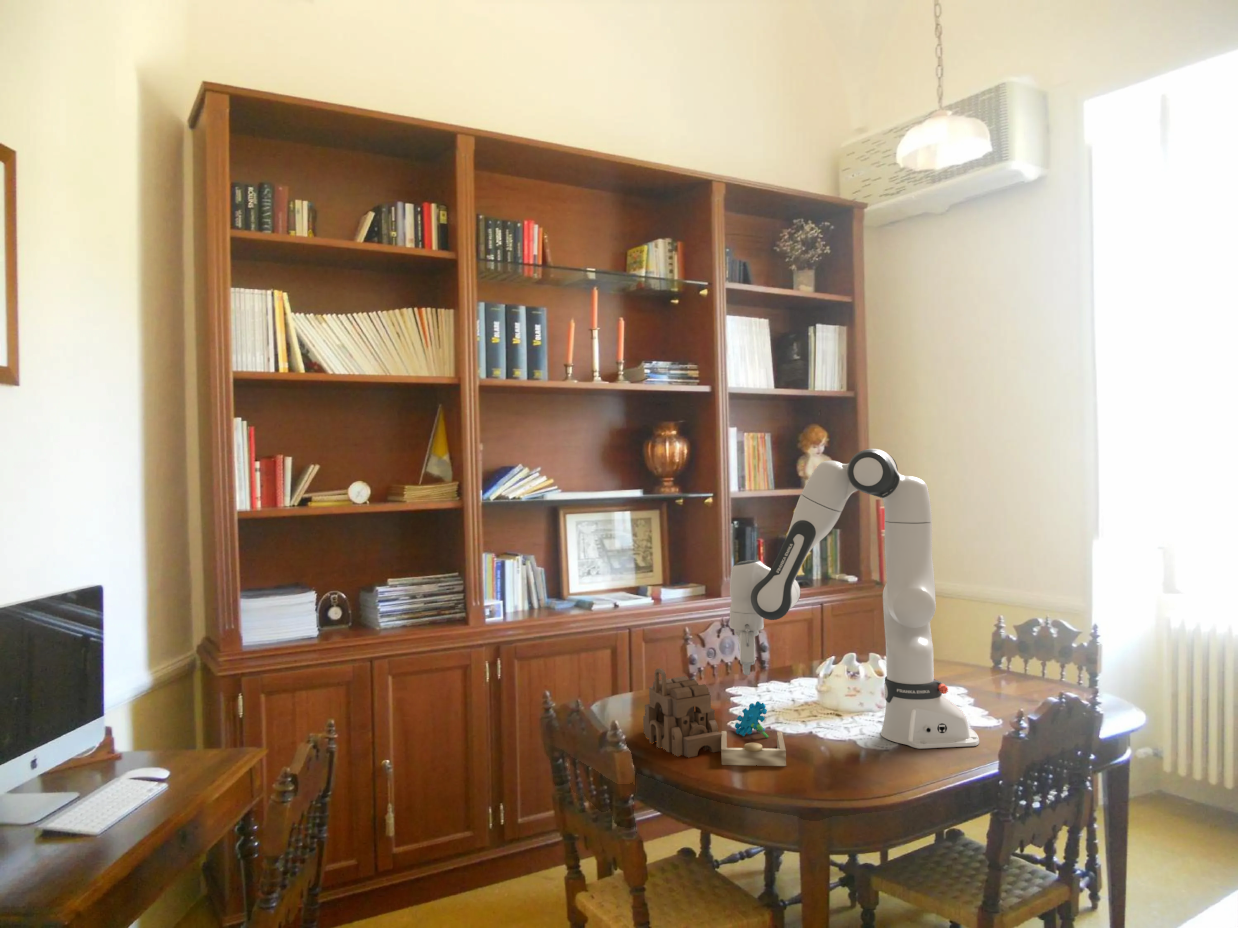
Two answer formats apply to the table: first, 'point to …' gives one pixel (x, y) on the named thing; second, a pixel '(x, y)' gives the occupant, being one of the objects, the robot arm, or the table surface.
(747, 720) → the gear
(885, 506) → the robot arm
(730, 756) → the drawer
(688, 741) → the wooden puzzle
